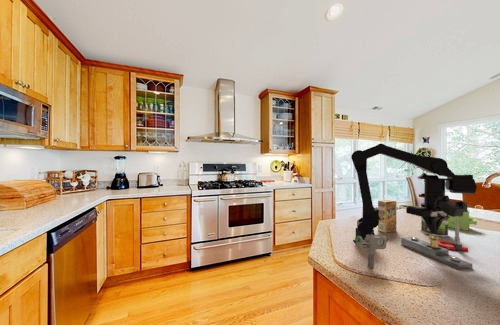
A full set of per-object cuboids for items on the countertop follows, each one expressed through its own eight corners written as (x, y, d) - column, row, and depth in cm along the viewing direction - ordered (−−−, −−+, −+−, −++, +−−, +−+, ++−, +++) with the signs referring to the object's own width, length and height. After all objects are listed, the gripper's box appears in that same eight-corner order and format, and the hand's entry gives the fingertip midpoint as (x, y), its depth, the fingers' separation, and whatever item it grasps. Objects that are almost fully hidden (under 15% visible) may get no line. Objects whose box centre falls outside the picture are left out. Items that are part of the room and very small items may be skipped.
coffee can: (453, 238, 95) (453, 207, 95) (425, 235, 99) (425, 205, 99) (442, 231, 104) (442, 204, 104) (417, 228, 108) (417, 202, 108)
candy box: (385, 233, 100) (386, 202, 100) (377, 230, 104) (377, 200, 104) (396, 231, 104) (397, 200, 104) (388, 228, 108) (388, 199, 108)
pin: (434, 257, 74) (434, 238, 74) (426, 254, 77) (427, 235, 77) (440, 257, 75) (441, 238, 75) (432, 253, 77) (433, 235, 78)
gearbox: (429, 225, 117) (429, 209, 117) (432, 221, 123) (432, 206, 123) (476, 233, 103) (476, 214, 103) (477, 228, 109) (476, 211, 109)
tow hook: (430, 242, 90) (447, 250, 81) (429, 213, 91) (446, 217, 82) (451, 244, 89) (471, 252, 80) (451, 214, 90) (470, 218, 80)
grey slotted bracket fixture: (458, 269, 66) (458, 257, 66) (401, 244, 86) (401, 235, 86) (472, 268, 67) (472, 256, 67) (412, 243, 87) (412, 234, 87)
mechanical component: (353, 264, 68) (353, 234, 68) (382, 264, 69) (382, 234, 69) (358, 269, 65) (359, 238, 65) (389, 268, 66) (389, 237, 66)
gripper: (436, 195, 67) (435, 243, 67) (482, 195, 70) (481, 240, 70) (405, 190, 78) (404, 231, 78) (446, 190, 81) (445, 230, 81)
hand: (433, 233), depth 76 cm, fingers closed
